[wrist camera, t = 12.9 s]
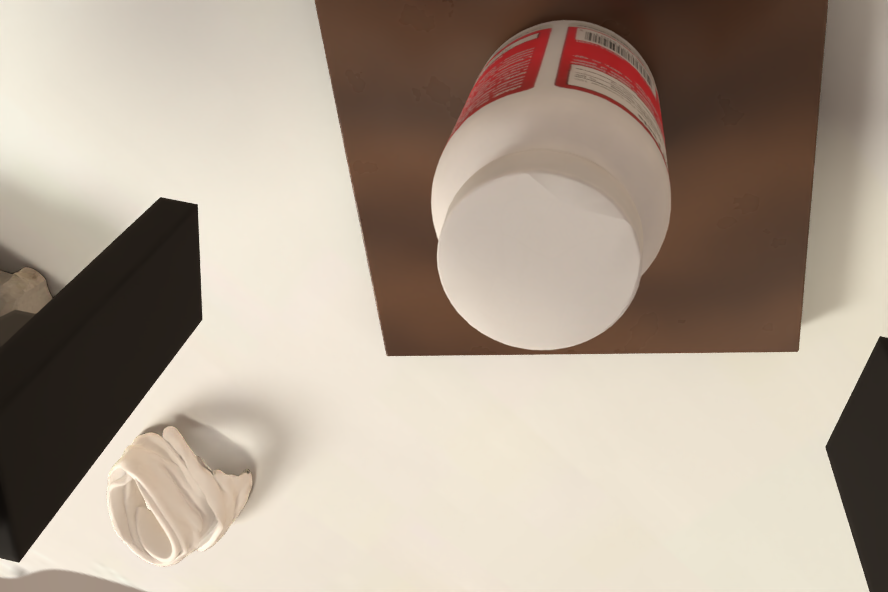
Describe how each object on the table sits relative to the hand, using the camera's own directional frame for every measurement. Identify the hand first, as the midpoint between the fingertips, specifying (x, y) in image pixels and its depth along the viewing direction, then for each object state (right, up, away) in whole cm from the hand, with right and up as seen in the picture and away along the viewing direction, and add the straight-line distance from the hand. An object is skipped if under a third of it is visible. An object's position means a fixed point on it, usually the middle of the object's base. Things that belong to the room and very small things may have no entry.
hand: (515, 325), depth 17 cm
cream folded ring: (-14, -9, +27) cm, 32 cm away
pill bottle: (+3, +7, +12) cm, 14 cm away
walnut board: (+3, +8, +13) cm, 16 cm away
